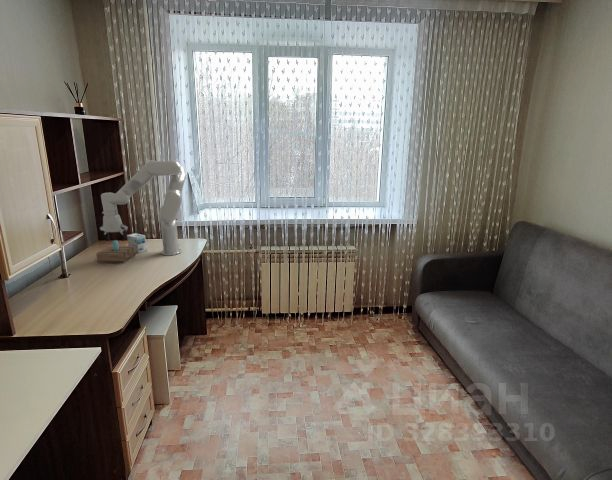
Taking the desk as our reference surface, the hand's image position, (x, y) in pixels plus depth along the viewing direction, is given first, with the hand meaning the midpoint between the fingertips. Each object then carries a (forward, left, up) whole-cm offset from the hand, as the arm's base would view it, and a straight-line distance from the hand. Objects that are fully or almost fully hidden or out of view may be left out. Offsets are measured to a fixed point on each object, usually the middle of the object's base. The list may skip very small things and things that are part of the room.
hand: (116, 240), depth 245 cm
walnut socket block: (0, -1, -12) cm, 12 cm away
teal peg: (0, -1, -10) cm, 10 cm away
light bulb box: (-17, +4, -12) cm, 21 cm away
